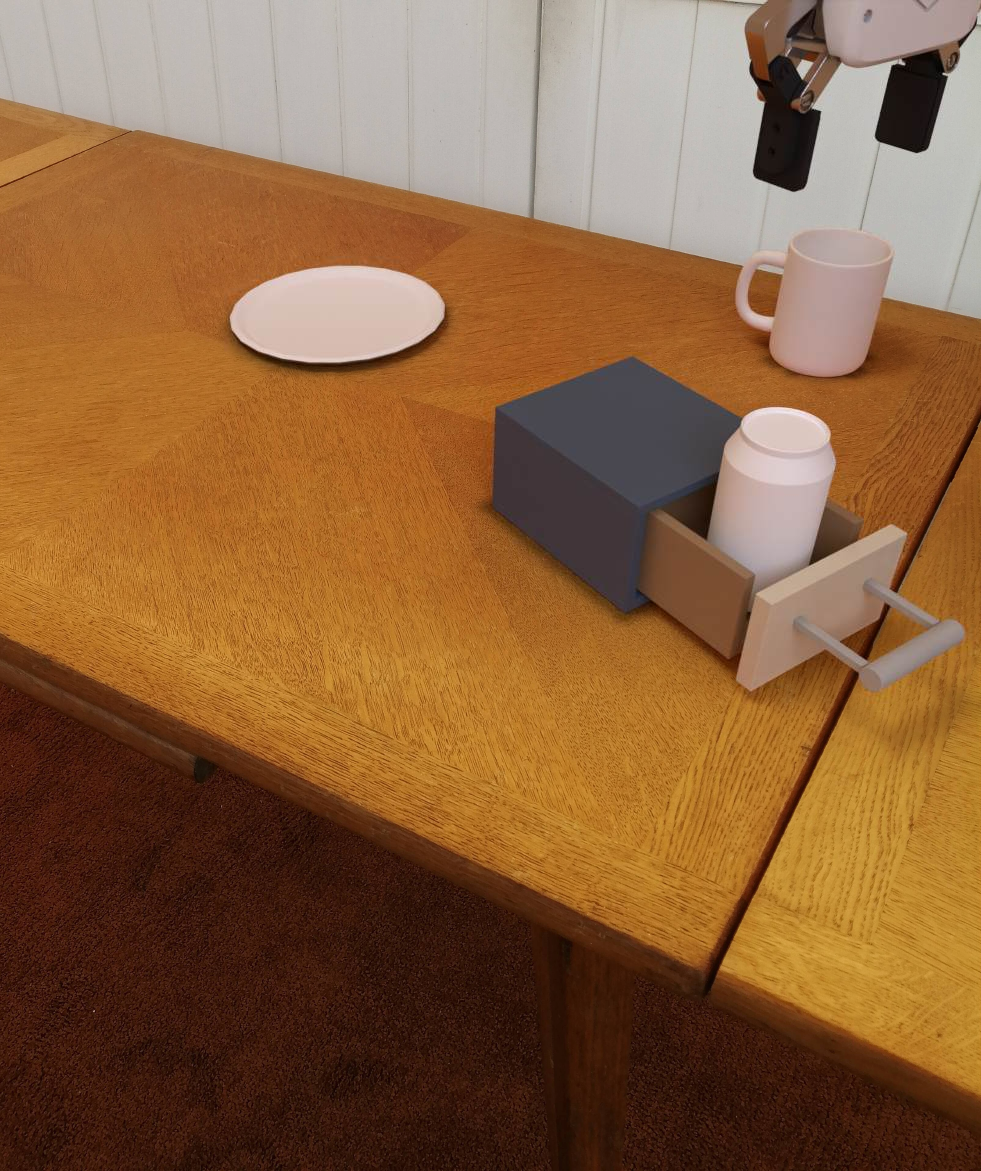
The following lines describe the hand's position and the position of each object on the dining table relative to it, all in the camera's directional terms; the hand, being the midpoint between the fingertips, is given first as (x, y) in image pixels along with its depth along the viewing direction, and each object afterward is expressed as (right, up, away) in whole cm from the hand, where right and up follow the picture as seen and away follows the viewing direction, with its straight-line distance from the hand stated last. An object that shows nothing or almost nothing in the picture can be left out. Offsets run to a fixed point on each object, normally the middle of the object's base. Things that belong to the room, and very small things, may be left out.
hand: (840, 164), depth 59 cm
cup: (+12, -2, +38) cm, 40 cm away
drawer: (-1, -25, +9) cm, 27 cm away
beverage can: (-2, -23, +10) cm, 26 cm away
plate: (-30, +3, +46) cm, 55 cm away
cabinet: (-8, -19, +19) cm, 28 cm away
